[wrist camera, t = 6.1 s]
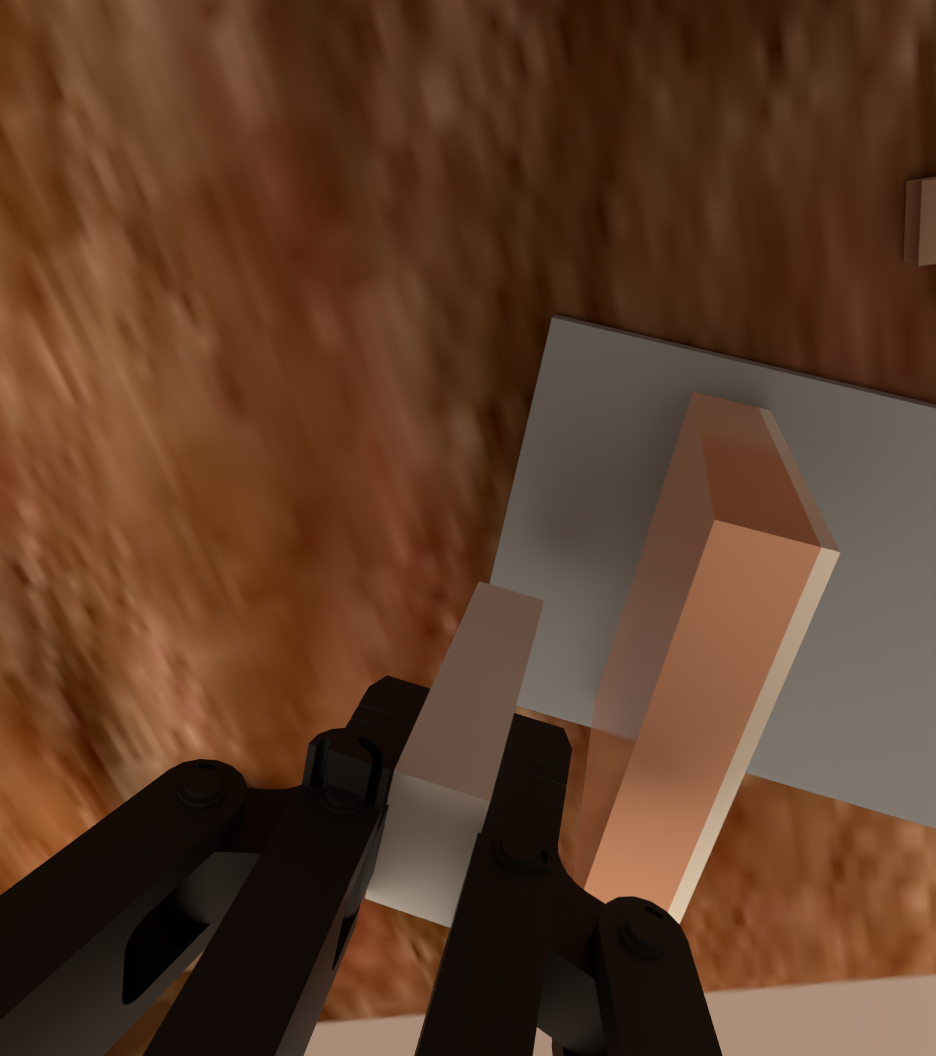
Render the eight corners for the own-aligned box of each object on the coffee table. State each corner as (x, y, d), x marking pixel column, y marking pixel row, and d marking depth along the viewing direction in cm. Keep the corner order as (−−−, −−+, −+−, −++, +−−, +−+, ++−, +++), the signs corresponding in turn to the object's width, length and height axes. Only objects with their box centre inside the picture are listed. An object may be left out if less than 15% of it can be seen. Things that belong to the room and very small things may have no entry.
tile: (594, 700, 26) (565, 942, 17) (692, 391, 21) (714, 519, 13) (658, 719, 25) (658, 972, 17) (769, 410, 21) (840, 552, 13)
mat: (468, 680, 27) (464, 690, 26) (554, 314, 22) (552, 317, 21) (971, 826, 25) (978, 841, 25) (1190, 464, 20) (1205, 472, 20)
